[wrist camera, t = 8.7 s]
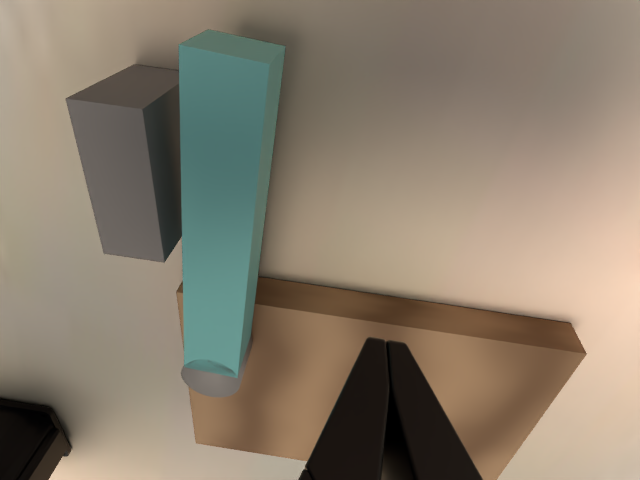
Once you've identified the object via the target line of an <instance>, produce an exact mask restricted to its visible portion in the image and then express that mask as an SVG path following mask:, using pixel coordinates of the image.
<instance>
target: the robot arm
mask: <svg viewBox="0 0 640 480" xmlns="http://www.w3.org/2000/svg"><path fill="white" fill-rule="evenodd" d="M70 452H71V448H70V446H69V444H68V441H67V439H66V437H65V435H64V433H63V431H62V428H61V426H60V424H59V422H58V420H57V418H56V415H55V413H54V411H53V410H52V409H50V408H48V407H44V406H38V405H32V404H25V403H19V402H13V401H7V400H0V480H48V479H49V478H50V476H51V474H52V473H53V471H54V470H55V468H56V466H57V465H58V463H59V461H60V460H61V458H62V456H68V455H69V454H70ZM298 480H483V478H482V476H481V475H480V473H479V471H478V469H477V468H476V466H475V464H474V462H473V460H472V459H471V457H470V455H469V453H468V452H467V450H466V448H465V446H464V445H463V443H462V441H461V439H460V437H459V436H458V434H457V432H456V430H455V429H454V427H453V425H452V423H451V422H450V420H449V418H448V416H447V414H446V413H445V411H444V409H443V407H442V406H441V404H440V402H439V400H438V399H437V397H436V395H435V393H434V391H433V390H432V388H431V386H430V384H429V383H428V381H427V379H426V377H425V375H424V374H423V372H422V370H421V368H420V367H419V365H418V363H417V361H416V360H415V358H414V356H413V354H412V352H411V351H410V349H409V347H408V345H407V344H406V343H405V342H401V341H395V340H387V341H385V339H382V338H376V337H368V338H367V339H366V340H365V342H364V345H363V347H362V349H361V351H360V353H359V355H358V357H357V359H356V361H355V363H354V365H353V367H352V370H351V372H350V374H349V376H348V378H347V380H346V382H345V384H344V386H343V388H342V390H341V392H340V395H339V397H338V399H337V401H336V403H335V405H334V407H333V409H332V411H331V413H330V415H329V417H328V420H327V422H326V424H325V426H324V428H323V430H322V432H321V434H320V436H319V438H318V440H317V442H316V445H315V447H314V449H313V451H312V453H311V455H310V457H309V459H308V461H307V463H306V465H305V469H304V470H303V471H302V473H301V475H300V477H299V479H298Z"/></svg>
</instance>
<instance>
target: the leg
mask: <svg viewBox="0 0 640 480" xmlns="http://www.w3.org/2000/svg"><path fill="white" fill-rule="evenodd" d="M285 47H286V46H283V45H278V44H274V43H269V42H264V41H260V40H255V39H250V38H246V37H241V36H237V35H232V34H227V33H223V32H218V31H213V30H209V29H208V30H206V31H204V32H202V33H200V34H199V35H197V36H195V37H193V38H191V39H189V40H187V41H185V42H183V43H181V44H179V93H180V150H181V206H182V263H183V319H184V366H183V368H182V371H181V375H182V378H183V380H184V382H185V383H186V384H187V385H188V386H189V387H190V388H191V389H193V390H194V391H196V392H198V393H200V394H203V395H206V396H210V397H228V396H231V395H233V394H235V393H236V392H237V391H238V390H239V387H240V384H241V381H242V378H243V374H244V371H245V368H246V364H247V361H248V358H249V355H250V351H251V348H252V344H253V341H252V337H251V329H252V321H253V312H254V304H255V296H256V287H257V279H258V271H259V263H260V254H261V246H262V238H263V229H264V221H265V213H266V205H267V196H268V188H269V180H270V171H271V163H272V155H273V147H274V138H275V130H276V122H277V113H278V105H279V97H280V89H281V80H282V72H283V64H284V55H285Z"/></svg>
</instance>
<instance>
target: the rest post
mask: <svg viewBox="0 0 640 480" xmlns="http://www.w3.org/2000/svg"><path fill="white" fill-rule="evenodd" d="M66 102H67V106H68V110H69V114H70V118H71V122H72V126H73V130H74V135H75V139H76V143H77V147H78V151H79V155H80V159H81V163H82V167H83V171H84V175H85V179H86V183H87V187H88V191H89V195H90V199H91V203H92V207H93V212H94V216H95V220H96V224H97V228H98V232H99V236H100V240H101V244H102V248H103V252H104V254H110V255H117V256H124V257H130V258H137V259H144V260H151V261H157V262H165V261H166V259H167V258H168V256H169V255H170V253H171V252H172V250H173V249H174V247H175V246H176V244H177V243H178V241H179V240H180V238H181V237H182V206H181V150H180V93H179V71H178V70H170V69H163V68H156V67H148V66H141V65H132V66H130V67H128V68H126V69H124V70H122V71H120V72H118V73H116V74H114V75H112V76H110V77H108V78H106V79H104V80H102V81H100V82H98V83H96V84H94V85H92V86H90V87H88V88H86V89H84V90H82V91H80V92H78V93H76V94H74V95H72V96H70V97H68V98H66Z"/></svg>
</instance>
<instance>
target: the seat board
mask: <svg viewBox="0 0 640 480" xmlns="http://www.w3.org/2000/svg"><path fill="white" fill-rule="evenodd" d="M176 294H177V301H178V309H179V317H180V325H181V332H182V340H183V348H184V319H183V281H182V283H181V285H180V286H179V288H178V290H177V292H176ZM251 337H252V341H253V344H252V348H251V351H250V355H249V358H248V361H247V364H246V368H245V371H244V374H243V378H242V381H241V384H240V387H239V390H238V391H237V392H236V393H235V394H233V395H231V396H228V397H210V396H206V395H203V394H200V393H198V392H196V391H194V390H193V389H191V388H190V387H189V394H190V402H191V409H192V417H193V425H194V433H195V440H196V443H197V444H204V445H210V446H216V447H222V448H229V449H235V450H241V451H247V452H253V453H260V454H266V455H272V456H278V457H285V458H291V459H297V460H303V461H308V459H309V457H310V455H311V453H312V451H313V449H314V447H315V445H316V442H317V440H318V438H319V436H320V434H321V432H322V430H323V428H324V426H325V424H326V422H327V420H328V417H329V415H330V413H331V411H332V409H333V407H334V405H335V403H336V401H337V399H338V397H339V395H340V392H341V390H342V388H343V386H344V384H345V382H346V380H347V378H348V376H349V374H350V372H351V370H352V367H353V365H354V363H355V361H356V359H357V357H358V355H359V353H360V351H361V349H362V347H363V345H364V342H365V340H366V339H367V338H368V337H376V338H382V339H385V341H387V340H395V341H401V342H405V343H406V344H407V345H408V347H409V349H410V351H411V352H412V354H413V356H414V358H415V360H416V361H417V363H418V365H419V367H420V368H421V370H422V372H423V374H424V375H425V377H426V379H427V381H428V383H429V384H430V386H431V388H432V390H433V391H434V393H435V395H436V397H437V399H438V400H439V402H440V404H441V406H442V407H443V409H444V411H445V413H446V414H447V416H448V418H449V420H450V422H451V423H452V425H453V427H454V429H455V430H456V432H457V434H458V436H459V437H460V439H461V441H462V443H463V445H464V446H465V448H466V450H467V452H468V453H469V455H470V457H471V459H472V460H473V462H474V464H475V466H476V468H477V469H478V471H479V473H480V475H481V476H482V478H483V480H497V478H498V477H499V476H500V474H501V473H502V471H503V470H504V469H505V467H506V466H507V464H508V463H509V462H510V460H511V459H512V457H513V456H514V455H515V453H516V452H517V450H518V449H519V448H520V446H521V445H522V443H523V442H524V441H525V439H526V438H527V436H528V435H529V434H530V432H531V431H532V430H533V428H534V427H535V425H536V424H537V423H538V421H539V420H540V418H541V417H542V416H543V414H544V413H545V411H546V410H547V409H548V407H549V406H550V404H551V403H552V402H553V400H554V399H555V397H556V396H557V395H558V393H559V392H560V391H561V389H562V388H563V386H564V385H565V384H566V382H567V381H568V379H569V378H570V377H571V375H572V374H573V372H574V371H575V370H576V368H577V367H578V365H579V364H580V363H581V361H582V360H583V358H584V357H585V356H586V352H585V350H584V348H583V346H582V344H581V342H580V340H579V338H578V336H577V334H576V332H575V330H574V328H573V327H572V325H571V323H565V322H558V321H552V320H545V319H538V318H532V317H525V316H518V315H512V314H505V313H498V312H491V311H485V310H478V309H471V308H465V307H458V306H451V305H444V304H438V303H431V302H424V301H418V300H411V299H404V298H397V297H391V296H384V295H377V294H371V293H364V292H357V291H350V290H344V289H337V288H330V287H324V286H317V285H310V284H303V283H297V282H290V281H283V280H277V279H270V278H263V277H258V279H257V287H256V296H255V304H254V312H253V321H252V329H251Z"/></svg>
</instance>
